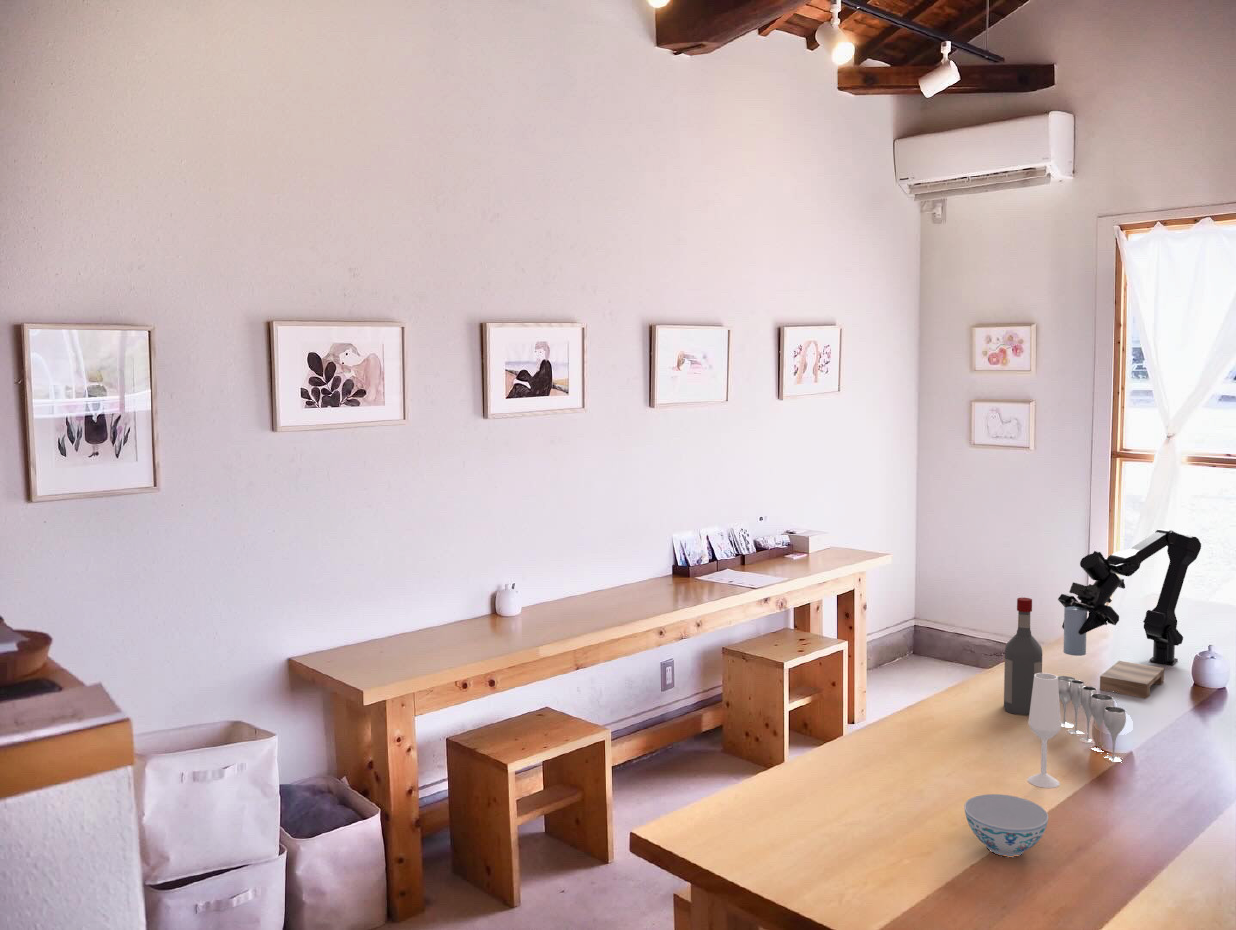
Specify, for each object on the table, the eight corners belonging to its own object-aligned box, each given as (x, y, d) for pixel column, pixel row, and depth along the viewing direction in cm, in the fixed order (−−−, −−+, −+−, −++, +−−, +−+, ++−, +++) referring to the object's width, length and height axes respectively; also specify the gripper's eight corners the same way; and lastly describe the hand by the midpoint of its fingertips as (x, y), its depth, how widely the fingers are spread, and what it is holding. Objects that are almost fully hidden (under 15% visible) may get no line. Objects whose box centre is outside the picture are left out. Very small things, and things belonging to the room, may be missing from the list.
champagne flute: (1058, 777, 228) (1061, 672, 226) (1061, 789, 222) (1063, 682, 220) (1026, 774, 231) (1028, 670, 228) (1027, 786, 224) (1030, 679, 222)
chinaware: (951, 833, 203) (951, 796, 202) (1024, 829, 204) (1024, 792, 203) (984, 871, 188) (985, 831, 187) (1062, 866, 189) (1063, 826, 189)
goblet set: (1130, 762, 236) (1132, 707, 234) (1106, 764, 235) (1108, 708, 234) (1069, 720, 264) (1071, 670, 262) (1048, 721, 263) (1049, 671, 262)
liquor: (1003, 713, 269) (1005, 601, 266) (1004, 702, 278) (1006, 594, 274) (1041, 717, 266) (1043, 604, 263) (1040, 706, 274) (1043, 596, 271)
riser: (1118, 674, 300) (1118, 660, 299) (1163, 681, 292) (1164, 668, 291) (1099, 689, 286) (1100, 676, 286) (1146, 698, 278) (1147, 684, 278)
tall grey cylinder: (1067, 648, 303) (1068, 605, 301) (1088, 652, 299) (1089, 608, 297) (1060, 653, 298) (1061, 609, 297) (1082, 657, 294) (1083, 612, 293)
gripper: (1063, 566, 306) (1032, 606, 303) (1112, 579, 288) (1080, 621, 286) (1083, 590, 309) (1053, 629, 307) (1133, 603, 292) (1102, 645, 289)
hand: (1071, 631), depth 297 cm, fingers closed on tall grey cylinder, 6 cm apart
